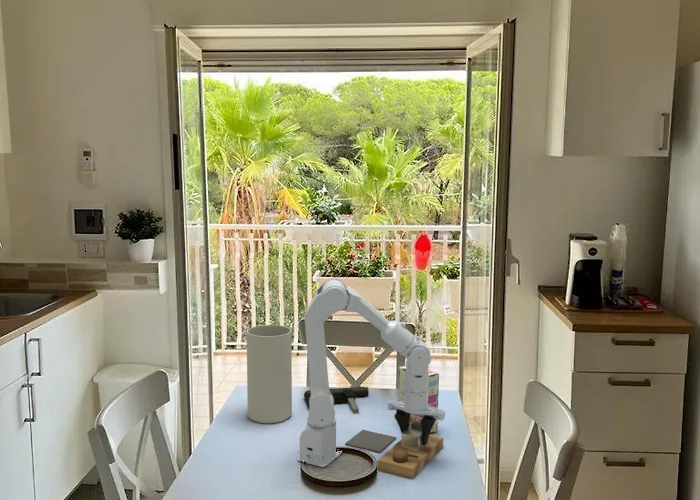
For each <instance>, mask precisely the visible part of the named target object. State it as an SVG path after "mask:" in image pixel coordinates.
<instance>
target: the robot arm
mask: <svg viewBox="0 0 700 500" xmlns="http://www.w3.org/2000/svg"><path fill="white" fill-rule="evenodd" d="M343 309H345V312H347V313H358V315H360V316H361V317H362V318H364V320H366V321H368V322H369V323H370V324H371V325H373V326H374V327H375V328H376V329H378V330H379V331H380V338H381V340H383V341H384V342H385V343H386V344H387V345H388V346H390V347H391V348H392V349H393V350H394V351H396V353H398V354H399V355H401V356H403V357H405V358H406V360H405V366H406V371H405V401H398V400H392V399H391V400H390V401H388V402H387V410H389V411H393V410H394V411H396V412H395V413H394V419H395V421H396V422H397V425H398V427H399V430H400V434H401V433H402V432H403V431H405V430H406V429H407V428H408V427H409V421H410V414H417V415H421V416H424V418H423V419H422V420H421V427H422V445H423V446H425V445H426V444H427V443H428V438H429V434H430V431H431V429H432V427H433V425H434V423H435V421H436V419H438V421H440V422H441V421H444V420H445V418H446V410H443V409H439V408H438V409H437V408H434V407H432V406H429V405H428V376H429V372H428V370H429V365H430V364H431V362H432V356H431V352H430V350H429V348H428V346H427V345H426V343H425V342H424V341H423V340H422V339H421V338H420V337H419V336H418V335H417V334H416V335H414V334H413V333H412V332H410V330H408V329H407V328H406V323H404V322H403V321H401V322H399V321H398V320H389V319H388V318H386V317H385V316H384V315H383V314H382V313H381V312H380V311H379V310H377V309H376V308H375V307H374V306H373V305H372V304H371V303H370V302H369V301H368V300H367V299H366V298H364V296H362V295H361V294H360V293H359V292H357V291H356V290H355V289H353V288H352V287H350V286H349V285H346V284H345V283H344V282H343V281H342V280H341V279H339V278H330V279H329V278H328V279H327V280H325V281H324V282H323V283H322V284H321V285H319V287H318V288H317V289H316V292H315V294H314V295H313V297H312V299H311V301H310V302H309V305H308V306H307V307H306V310H305V312H304V326H305V338H306V339H305V340H306V350H307V361H308V370H309V371H308V372H309V373H308V374H309V384H310V390H311V396H310V399H309V408H308V417H307V418H306V426H305V428H304V430H303V431H302V432H301V433H300V436H299V456H298V457H296V461H298V462H301V461H302V460H304V461H305V462H306V463H305V464H308V465H313V466H317V467H320V468H325V466H326V467H327V466H328V465H330V464H331V463H332V462H333V461H335V458H336V459H337V458H338V457H339V456H341V455H342V454H343V453H342V451H343V450H341V451H337V452H336V449H337V418H336V417H335V416H336V412H335V407H334V406H335V405H334V398H333V396H332V394H331V393H330V390H329V389H330V383H329V371H328V362H327V361H328V359H327V350H326V347H327V346H326V339H325V338H326V337H325V326H324V325H325V324H324V323H325V322H326V321H327V320H328V319H329V318H330V317H331V316H332V315H335V314H336V313H338V312H340V311H342V310H343ZM339 452H340V453H339ZM341 453H342V454H341ZM340 454H341V455H340Z"/></svg>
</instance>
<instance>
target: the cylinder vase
mask: <svg viewBox="0 0 700 500" xmlns="http://www.w3.org/2000/svg"><path fill="white" fill-rule="evenodd" d="M292 335H293V334H292V328H290V327H287V326H285V325H279V324H278V325H277V324H264V325H256V326H252V327H250V328H249V327H248V328H247V330H246V381H247V382H246V385H247V386H246V388H247V416H248V418H249V419H250V420H251V421H253V422H255V423H258V424H259V423H260V424H277V423H280V422H283V421H284V422H285V421H286V420H288V419H289V418H291V416H292V413H293V399H292V397H293V394H292V393H293V392H292V391H293V390H292V389H293V385H292V381H293V378H292V377H293V374H292V373H293V372H292V370H293V369H292V367H293V364H292V363H293V360H292V359H293V358H292V357H293V356H292V355H293V354H292V352H293V350H292V346H293V345H292V339H293V338H292Z"/></svg>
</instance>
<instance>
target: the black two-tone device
mask: <svg viewBox="0 0 700 500" xmlns="http://www.w3.org/2000/svg"><path fill="white" fill-rule="evenodd" d="M329 390H330V393H331V394H332V396H333V398H334V406H335V405H348V408H350V410H351V412H352V414H359V413H360V408H359V406H358V405H357V403H356V398H361V397H360V396H364V397H366V396H369V387H368V386H357V387H355V386H354V387H340V388H337V387H336V388H329ZM310 396H311V389H308V390H305V392H304V393H303V398H304V399H305V402H306V405H307V407H308V409H309V399H310Z"/></svg>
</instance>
